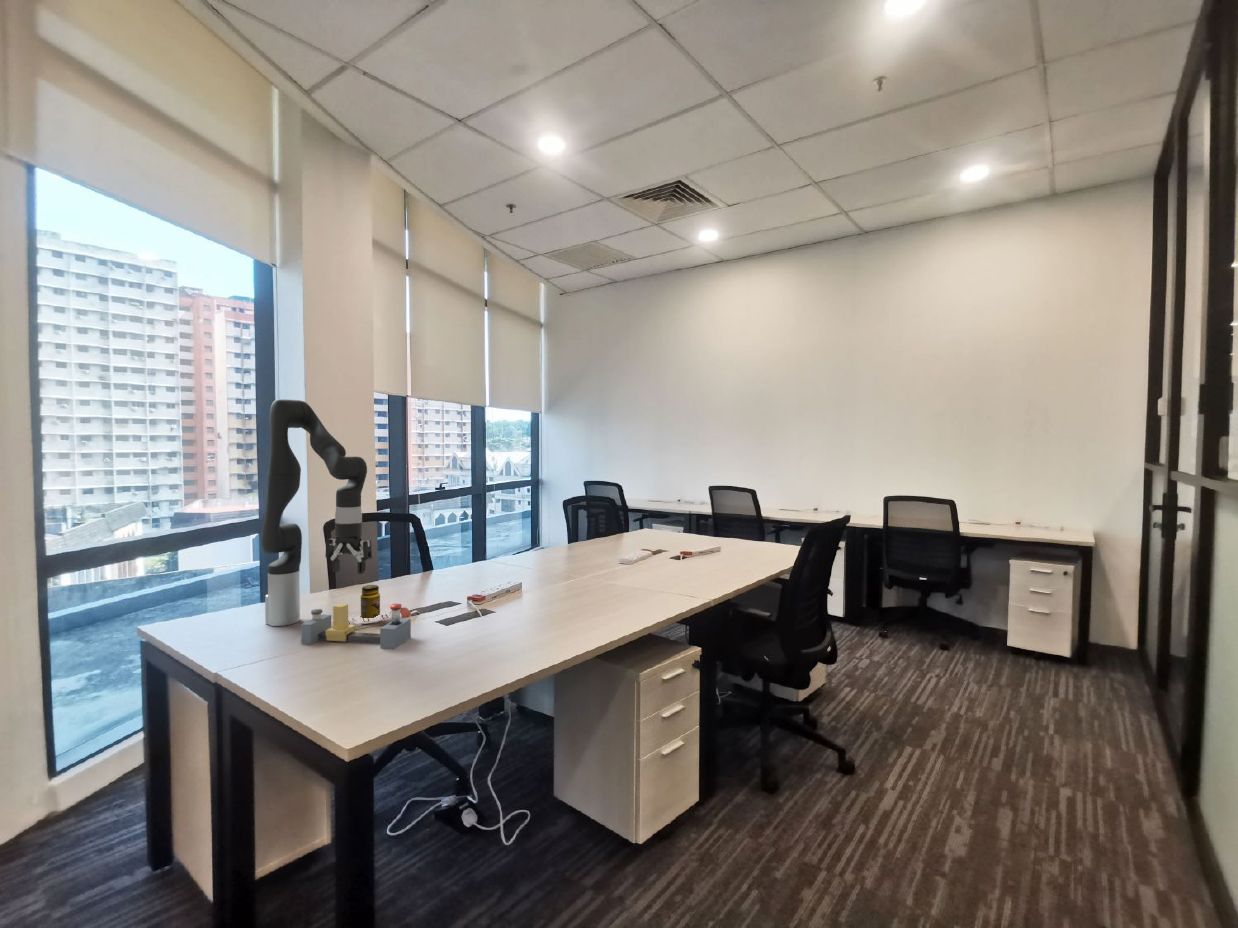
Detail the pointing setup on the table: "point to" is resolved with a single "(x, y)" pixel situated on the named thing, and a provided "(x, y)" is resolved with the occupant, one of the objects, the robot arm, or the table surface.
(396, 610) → the plunger
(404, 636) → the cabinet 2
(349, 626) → the carriage
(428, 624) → the table surface
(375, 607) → the condiment
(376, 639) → the rail
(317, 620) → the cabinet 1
